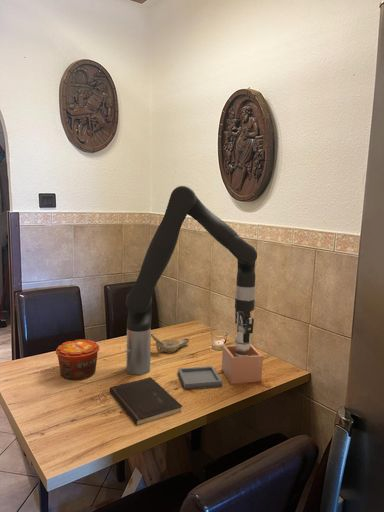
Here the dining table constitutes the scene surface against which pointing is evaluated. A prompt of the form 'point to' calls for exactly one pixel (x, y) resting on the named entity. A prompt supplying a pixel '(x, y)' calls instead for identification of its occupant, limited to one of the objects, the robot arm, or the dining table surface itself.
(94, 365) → the food container
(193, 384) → the tray
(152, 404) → the hardcover book
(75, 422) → the dining table surface
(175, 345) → the oil lamp
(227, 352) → the pink open box
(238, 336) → the plastic bottle
